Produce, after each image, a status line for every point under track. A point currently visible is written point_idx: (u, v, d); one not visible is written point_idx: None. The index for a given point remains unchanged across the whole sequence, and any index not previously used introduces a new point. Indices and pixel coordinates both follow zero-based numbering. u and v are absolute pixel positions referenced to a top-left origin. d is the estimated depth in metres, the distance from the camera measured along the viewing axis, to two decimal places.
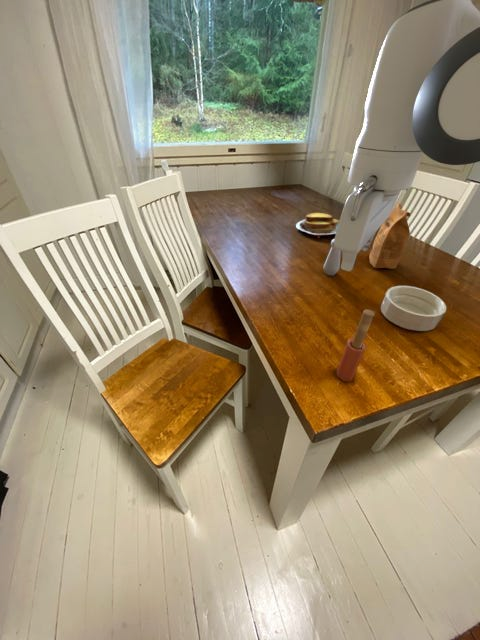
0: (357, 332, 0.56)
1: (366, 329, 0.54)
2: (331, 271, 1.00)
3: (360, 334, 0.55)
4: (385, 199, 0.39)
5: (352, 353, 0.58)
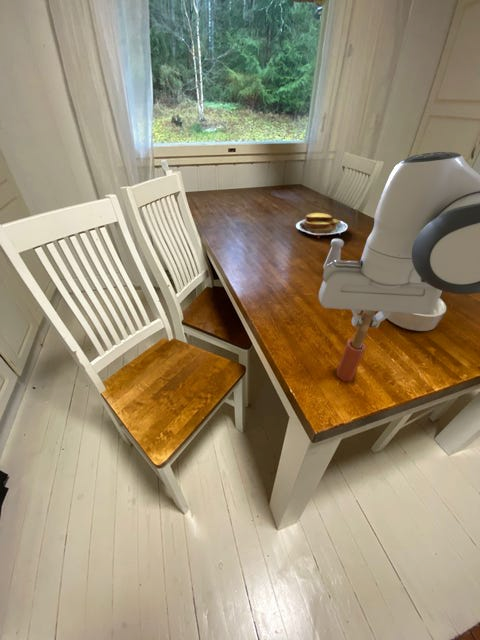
0: (357, 332, 0.56)
1: (366, 329, 0.54)
2: None
3: (360, 334, 0.55)
4: (372, 283, 0.47)
5: (352, 353, 0.58)
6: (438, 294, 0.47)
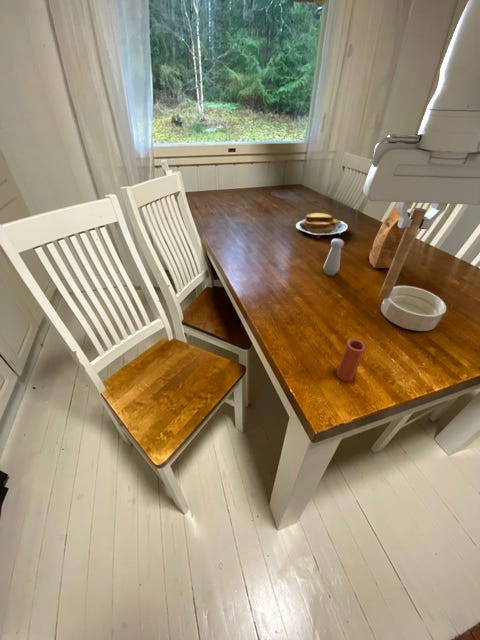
0: (403, 238, 0.50)
1: (415, 231, 0.48)
2: (331, 271, 1.00)
3: (408, 240, 0.49)
4: (431, 161, 0.41)
5: (352, 353, 0.58)
6: None
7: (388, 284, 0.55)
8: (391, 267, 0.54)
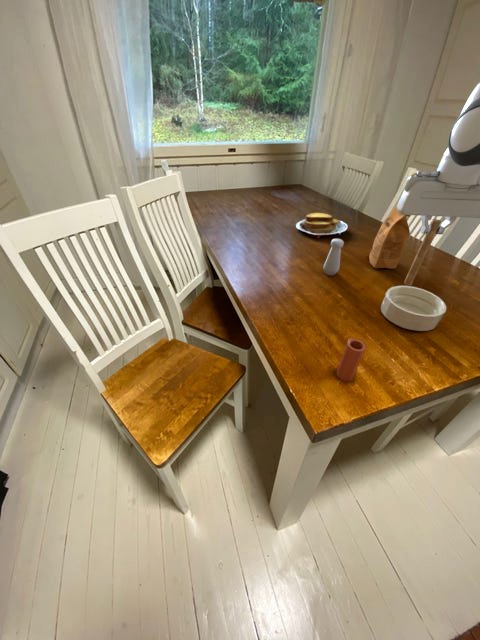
0: (424, 240, 0.70)
1: (433, 236, 0.68)
2: (331, 271, 1.00)
3: (427, 241, 0.69)
4: (446, 189, 0.61)
5: (352, 353, 0.58)
6: None
7: (411, 274, 0.75)
8: (414, 261, 0.74)
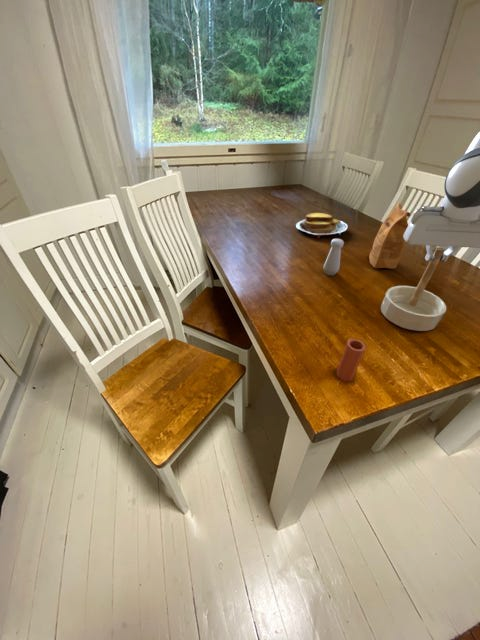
0: (428, 266, 0.75)
1: (437, 263, 0.73)
2: (331, 271, 1.00)
3: (431, 268, 0.74)
4: (449, 223, 0.65)
5: (352, 353, 0.58)
6: None
7: (416, 296, 0.80)
8: (419, 285, 0.79)
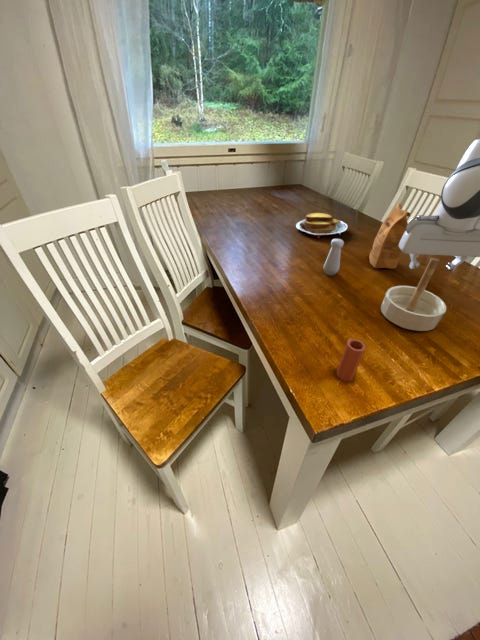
0: (423, 276, 0.74)
1: (431, 273, 0.73)
2: (331, 271, 1.00)
3: (426, 278, 0.74)
4: (445, 232, 0.65)
5: (352, 353, 0.58)
6: None
7: (411, 306, 0.80)
8: (414, 294, 0.78)
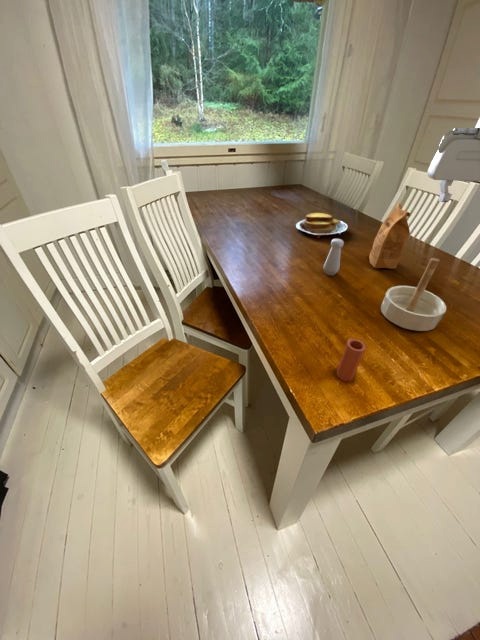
0: (423, 276, 0.74)
1: (431, 273, 0.73)
2: (331, 271, 1.00)
3: (426, 278, 0.74)
4: None
5: (352, 353, 0.58)
6: None
7: (411, 306, 0.80)
8: (414, 294, 0.78)
